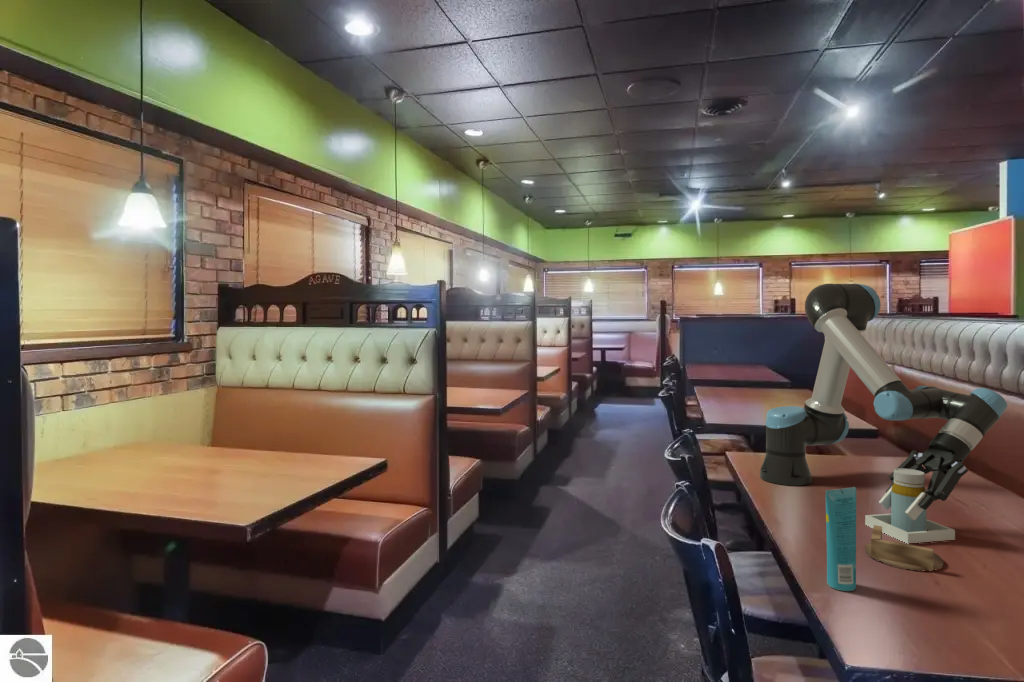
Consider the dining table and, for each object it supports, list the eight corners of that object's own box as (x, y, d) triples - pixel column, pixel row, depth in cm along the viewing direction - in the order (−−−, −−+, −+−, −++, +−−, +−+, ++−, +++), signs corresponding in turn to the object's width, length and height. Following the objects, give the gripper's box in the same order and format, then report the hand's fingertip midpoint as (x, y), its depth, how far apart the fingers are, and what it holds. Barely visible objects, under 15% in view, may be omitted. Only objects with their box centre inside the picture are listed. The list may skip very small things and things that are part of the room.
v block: (901, 541, 131) (901, 523, 131) (963, 569, 116) (964, 548, 116) (846, 546, 129) (846, 527, 129) (903, 575, 114) (903, 554, 113)
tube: (842, 577, 113) (843, 483, 112) (865, 587, 109) (866, 489, 108) (816, 584, 110) (817, 487, 110) (839, 595, 106) (839, 494, 105)
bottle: (920, 529, 139) (920, 469, 138) (930, 539, 132) (931, 476, 132) (887, 526, 141) (887, 467, 140) (896, 536, 134) (896, 474, 134)
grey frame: (865, 525, 142) (865, 515, 142) (908, 521, 144) (908, 512, 144) (907, 544, 129) (908, 533, 129) (954, 540, 131) (955, 529, 131)
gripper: (1005, 461, 128) (943, 536, 126) (927, 443, 148) (872, 508, 146) (985, 439, 127) (922, 514, 125) (910, 424, 147) (854, 489, 145)
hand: (896, 511), depth 136 cm, fingers closed on bottle, 7 cm apart
